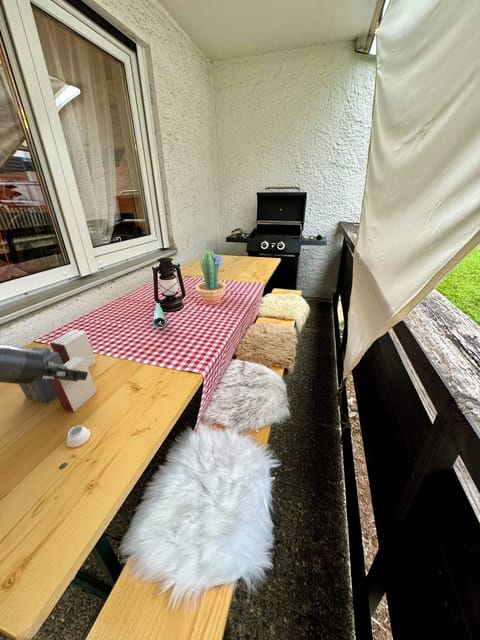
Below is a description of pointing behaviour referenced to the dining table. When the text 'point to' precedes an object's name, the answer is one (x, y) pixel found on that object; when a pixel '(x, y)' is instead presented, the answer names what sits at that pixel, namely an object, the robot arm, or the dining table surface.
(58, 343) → the ivory books
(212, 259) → the potted cactus
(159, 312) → the long green cone
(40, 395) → the grey books
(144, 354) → the dining table surface
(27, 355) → the robot arm
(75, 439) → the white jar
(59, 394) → the ivory book
